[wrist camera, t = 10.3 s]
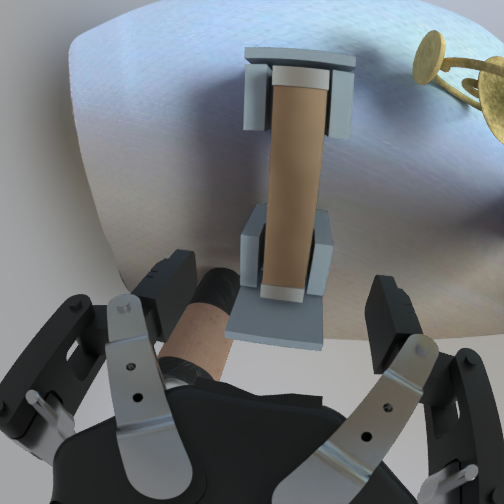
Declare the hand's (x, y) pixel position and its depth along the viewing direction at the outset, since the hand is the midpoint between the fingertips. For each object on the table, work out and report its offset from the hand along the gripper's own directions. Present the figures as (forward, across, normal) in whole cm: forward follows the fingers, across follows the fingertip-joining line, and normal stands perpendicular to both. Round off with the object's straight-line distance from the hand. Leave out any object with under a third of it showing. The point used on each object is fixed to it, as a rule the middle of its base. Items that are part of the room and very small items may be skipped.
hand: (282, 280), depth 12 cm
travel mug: (+23, +10, +19) cm, 32 cm away
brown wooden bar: (+17, 0, 0) cm, 17 cm away
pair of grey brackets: (+23, 0, 0) cm, 23 cm away
